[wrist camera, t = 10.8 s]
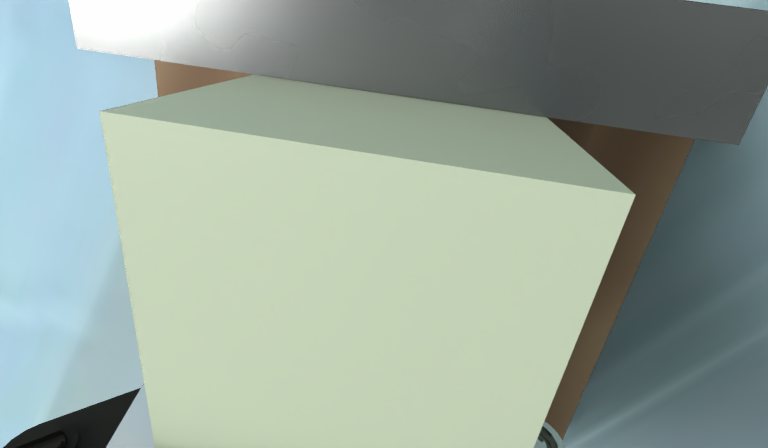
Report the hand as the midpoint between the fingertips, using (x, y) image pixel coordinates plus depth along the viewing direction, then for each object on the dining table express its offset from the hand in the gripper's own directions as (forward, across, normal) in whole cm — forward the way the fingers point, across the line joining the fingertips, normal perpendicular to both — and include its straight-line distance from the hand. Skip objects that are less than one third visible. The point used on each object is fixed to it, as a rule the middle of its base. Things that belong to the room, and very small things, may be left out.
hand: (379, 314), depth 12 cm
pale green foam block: (+2, 0, 0) cm, 2 cm away
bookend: (+3, 0, -7) cm, 8 cm away
